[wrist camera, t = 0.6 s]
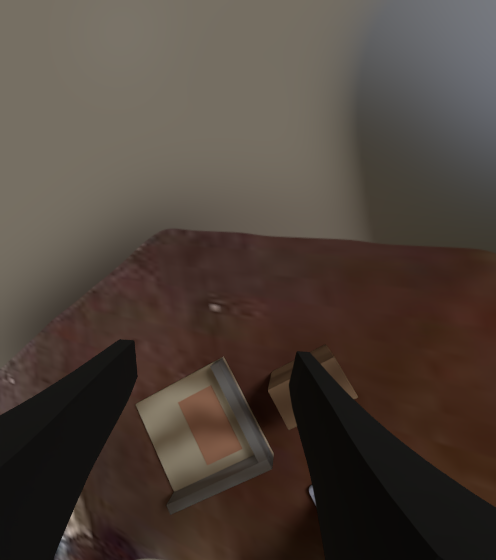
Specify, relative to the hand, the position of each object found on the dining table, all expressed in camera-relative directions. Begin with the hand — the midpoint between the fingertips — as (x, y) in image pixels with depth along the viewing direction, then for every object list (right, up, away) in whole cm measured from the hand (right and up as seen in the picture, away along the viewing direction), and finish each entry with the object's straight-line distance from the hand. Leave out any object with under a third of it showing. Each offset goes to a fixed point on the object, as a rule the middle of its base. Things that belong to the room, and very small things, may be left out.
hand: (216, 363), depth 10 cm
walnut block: (+9, -9, +20) cm, 23 cm away
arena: (-5, -17, +22) cm, 28 cm away
